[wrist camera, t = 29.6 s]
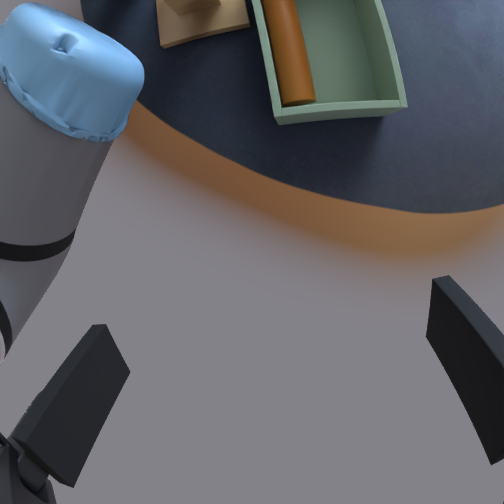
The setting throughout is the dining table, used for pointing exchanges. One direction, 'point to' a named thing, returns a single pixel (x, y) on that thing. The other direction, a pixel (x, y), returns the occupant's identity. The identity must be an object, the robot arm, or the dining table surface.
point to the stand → (198, 19)
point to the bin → (340, 61)
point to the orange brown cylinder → (289, 52)
